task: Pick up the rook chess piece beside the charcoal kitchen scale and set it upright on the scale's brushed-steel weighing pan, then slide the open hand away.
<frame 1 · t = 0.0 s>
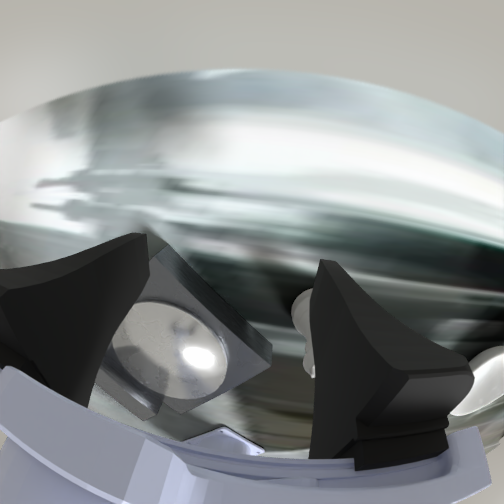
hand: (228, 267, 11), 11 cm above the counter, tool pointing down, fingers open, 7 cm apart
spoon rest: (503, 346, 23), on the counter
rook chess piece: (316, 306, 23), on the counter
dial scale: (177, 335, 25), on the counter
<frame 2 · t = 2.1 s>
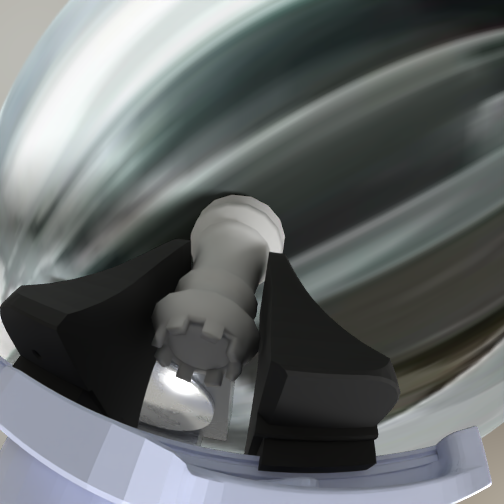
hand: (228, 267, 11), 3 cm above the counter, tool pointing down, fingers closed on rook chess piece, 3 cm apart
rook chess piece: (240, 233, 14), on the counter, touching gripper
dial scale: (155, 361, 20), on the counter
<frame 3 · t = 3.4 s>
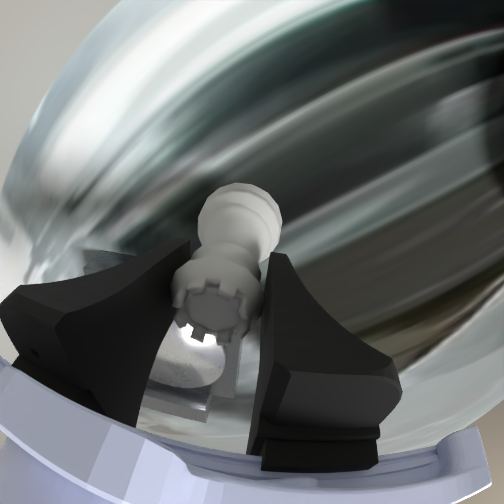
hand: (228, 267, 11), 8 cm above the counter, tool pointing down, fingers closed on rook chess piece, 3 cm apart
rook chess piece: (242, 218, 15), point 3 cm above the counter, touching gripper
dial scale: (173, 322, 24), on the counter
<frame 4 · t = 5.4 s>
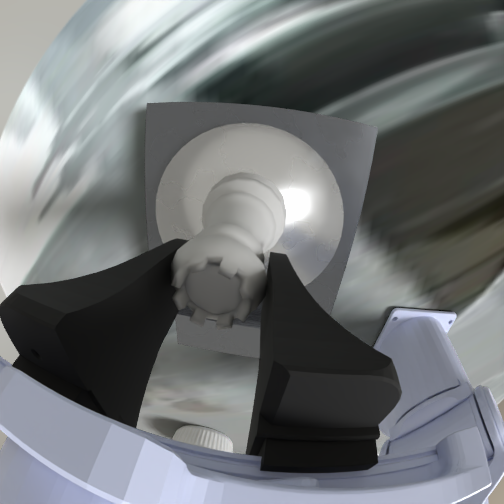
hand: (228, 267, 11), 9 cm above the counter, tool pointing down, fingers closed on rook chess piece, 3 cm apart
ramekin: (205, 434, 38), on the counter
rook chess piece: (246, 208, 15), point 3 cm above the counter, touching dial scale, gripper
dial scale: (252, 202, 19), on the counter
when the fingers open (8 cm above the counter, at t = 6.3 s): rook chess piece stays where it is, resting on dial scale.
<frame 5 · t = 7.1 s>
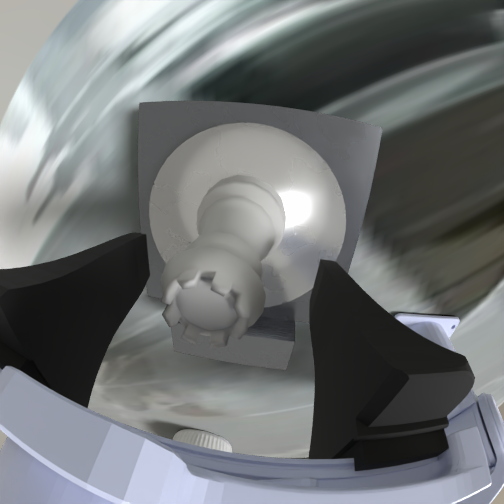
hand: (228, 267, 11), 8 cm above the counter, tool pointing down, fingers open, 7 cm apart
ramekin: (204, 438, 37), on the counter
rook chess piece: (244, 213, 14), point 3 cm above the counter, touching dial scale
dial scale: (250, 206, 18), on the counter
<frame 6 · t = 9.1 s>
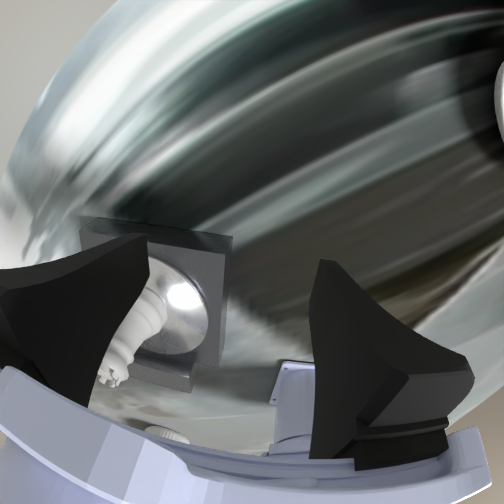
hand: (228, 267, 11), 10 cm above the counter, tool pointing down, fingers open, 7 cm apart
ramekin: (168, 434, 45), on the counter
rook chess piece: (146, 303, 22), point 3 cm above the counter, touching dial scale
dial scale: (161, 288, 25), on the counter
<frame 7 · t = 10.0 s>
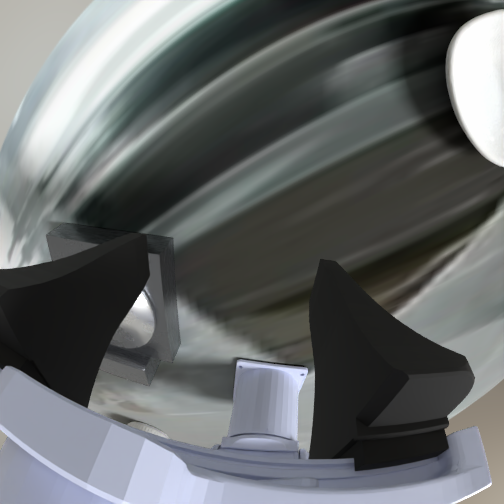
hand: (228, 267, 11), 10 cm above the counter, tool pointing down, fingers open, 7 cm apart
ramekin: (149, 430, 45), on the counter
spoon rest: (491, 49, 11), on the counter
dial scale: (119, 286, 26), on the counter
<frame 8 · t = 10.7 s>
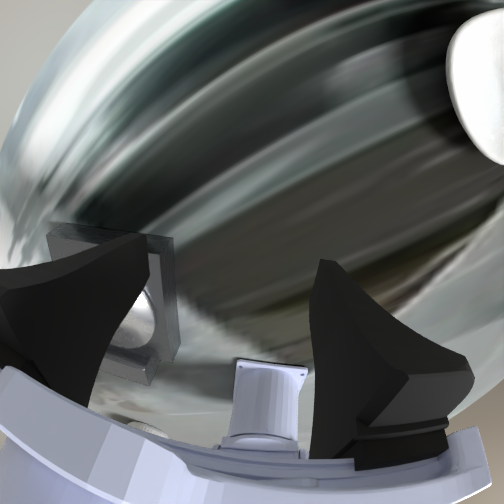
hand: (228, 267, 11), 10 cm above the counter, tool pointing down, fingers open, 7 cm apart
ramekin: (149, 430, 45), on the counter
spoon rest: (491, 48, 10), on the counter
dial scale: (119, 286, 26), on the counter
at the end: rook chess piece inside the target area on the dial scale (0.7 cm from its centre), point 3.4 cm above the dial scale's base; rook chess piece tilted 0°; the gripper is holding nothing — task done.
